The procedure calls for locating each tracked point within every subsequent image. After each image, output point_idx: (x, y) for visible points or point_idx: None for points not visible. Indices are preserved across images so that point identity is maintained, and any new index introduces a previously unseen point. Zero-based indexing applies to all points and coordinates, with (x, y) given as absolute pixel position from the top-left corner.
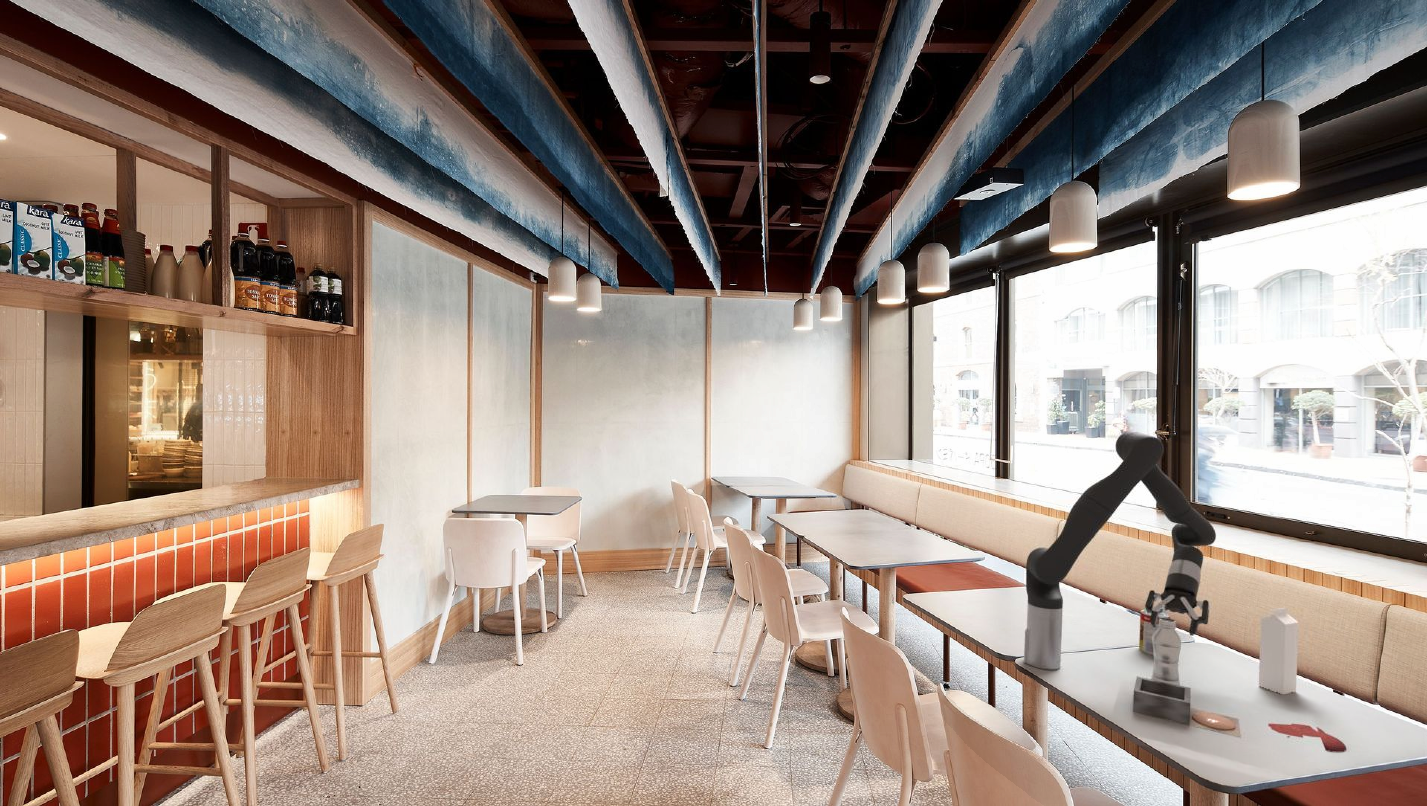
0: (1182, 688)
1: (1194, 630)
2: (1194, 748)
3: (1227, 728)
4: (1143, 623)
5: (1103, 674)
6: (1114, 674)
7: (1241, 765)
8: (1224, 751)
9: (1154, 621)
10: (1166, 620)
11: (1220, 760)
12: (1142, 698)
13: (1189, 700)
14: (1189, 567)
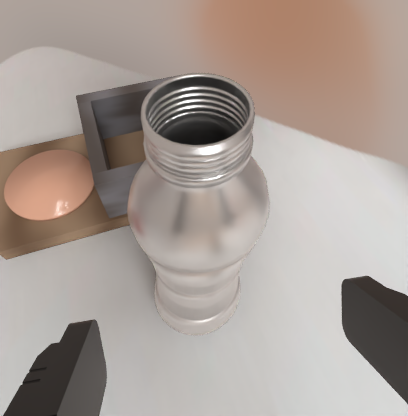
0: (113, 171)
1: (53, 348)
2: (75, 94)
3: (20, 163)
4: None
5: None
6: None
7: (6, 94)
8: (31, 117)
9: (358, 280)
10: (223, 155)
11: (36, 87)
12: None
13: (80, 106)
14: None
